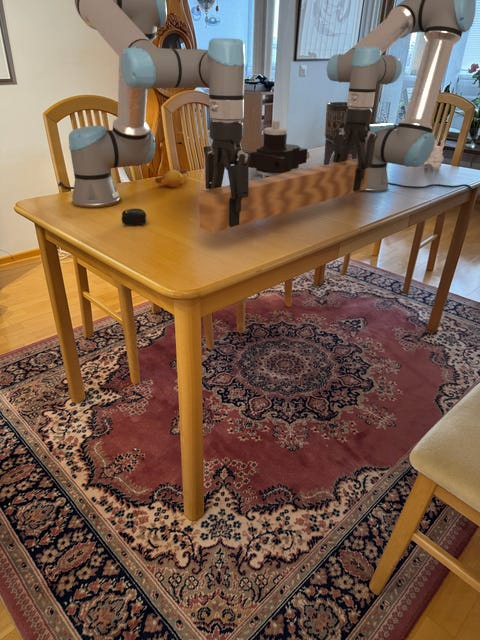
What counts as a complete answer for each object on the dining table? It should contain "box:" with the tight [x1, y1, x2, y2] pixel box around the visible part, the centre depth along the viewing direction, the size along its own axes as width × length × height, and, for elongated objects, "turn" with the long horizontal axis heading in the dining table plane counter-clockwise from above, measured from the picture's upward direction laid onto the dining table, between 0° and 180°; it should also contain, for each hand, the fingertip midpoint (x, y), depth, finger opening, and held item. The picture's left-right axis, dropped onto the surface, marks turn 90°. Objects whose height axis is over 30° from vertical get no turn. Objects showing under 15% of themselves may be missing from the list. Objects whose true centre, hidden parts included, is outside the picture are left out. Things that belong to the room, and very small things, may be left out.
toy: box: [154, 169, 189, 188], centre depth 173 cm, size 11×6×15 cm
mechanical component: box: [242, 120, 311, 178], centre depth 191 cm, size 22×21×30 cm
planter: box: [323, 101, 373, 165], centre depth 204 cm, size 20×20×26 cm
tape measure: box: [121, 207, 147, 226], centre depth 133 cm, size 7×7×4 cm
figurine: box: [422, 139, 446, 171], centre depth 207 cm, size 8×15×13 cm, turn 146°
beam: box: [198, 158, 369, 234], centre depth 126 cm, size 65×5×9 cm, turn 134°
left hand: (226, 222), depth 112 cm, fingers closed on beam, 5 cm apart
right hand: (348, 188), depth 144 cm, fingers closed on beam, 5 cm apart
